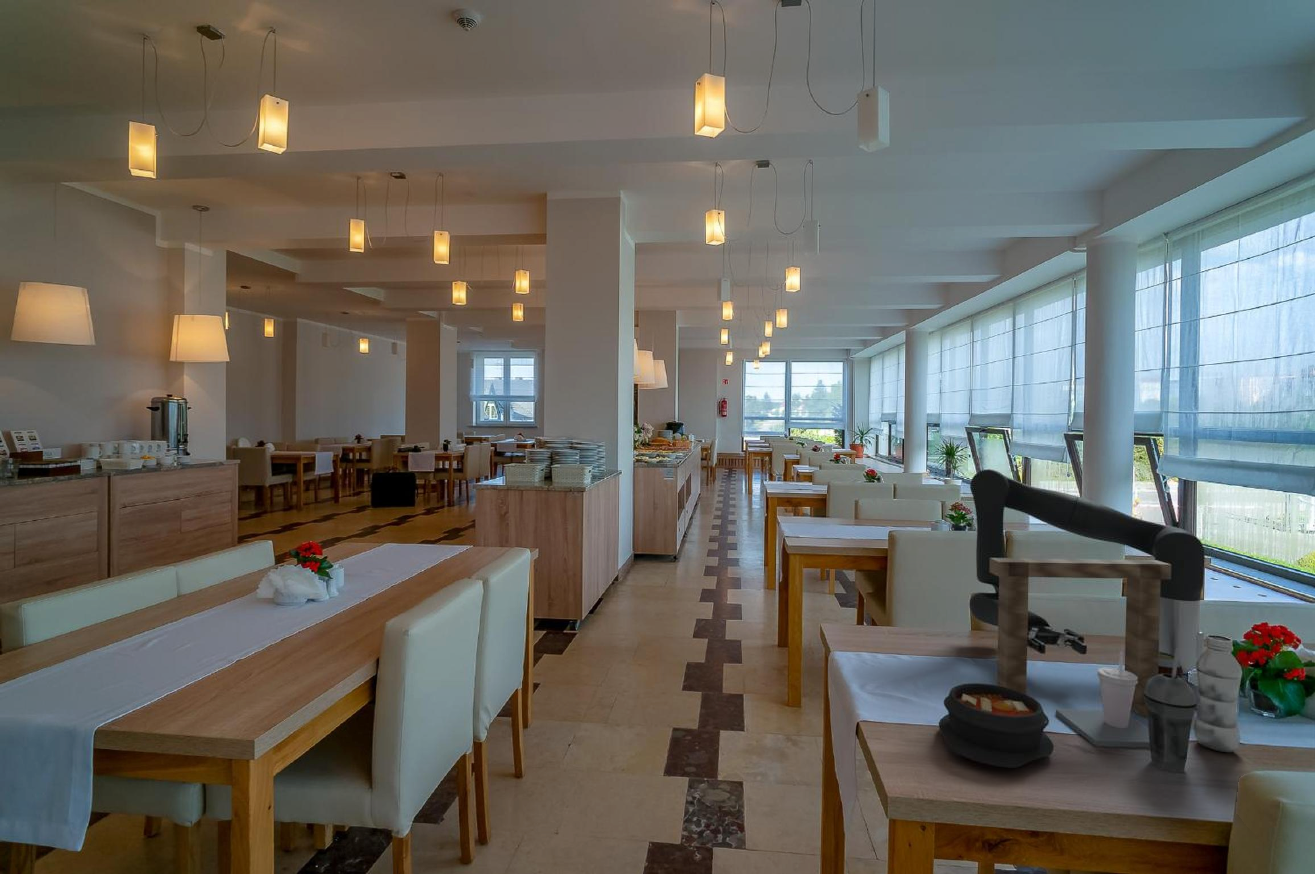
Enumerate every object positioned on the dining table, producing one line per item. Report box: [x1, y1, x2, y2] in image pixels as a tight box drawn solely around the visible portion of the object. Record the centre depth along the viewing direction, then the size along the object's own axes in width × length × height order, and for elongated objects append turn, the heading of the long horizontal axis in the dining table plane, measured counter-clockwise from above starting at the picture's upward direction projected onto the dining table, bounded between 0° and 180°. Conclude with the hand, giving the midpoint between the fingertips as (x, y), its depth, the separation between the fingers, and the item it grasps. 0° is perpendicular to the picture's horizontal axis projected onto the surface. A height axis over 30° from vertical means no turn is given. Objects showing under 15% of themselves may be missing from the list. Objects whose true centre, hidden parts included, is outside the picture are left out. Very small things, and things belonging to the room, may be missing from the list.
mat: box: [1055, 708, 1150, 749], centre depth 126 cm, size 13×13×1 cm
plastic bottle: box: [1192, 634, 1243, 753], centre depth 119 cm, size 6×7×20 cm
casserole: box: [938, 682, 1055, 769], centre depth 120 cm, size 25×19×8 cm
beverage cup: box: [1143, 649, 1198, 773], centre depth 113 cm, size 7×7×20 cm
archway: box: [990, 557, 1171, 719], centre depth 136 cm, size 34×10×30 cm, turn 87°
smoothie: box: [1096, 650, 1138, 728], centre depth 126 cm, size 6×6×14 cm
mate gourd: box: [1158, 637, 1184, 679], centre depth 143 cm, size 8×8×15 cm
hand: (1064, 649), depth 141 cm, fingers open, 8 cm apart
